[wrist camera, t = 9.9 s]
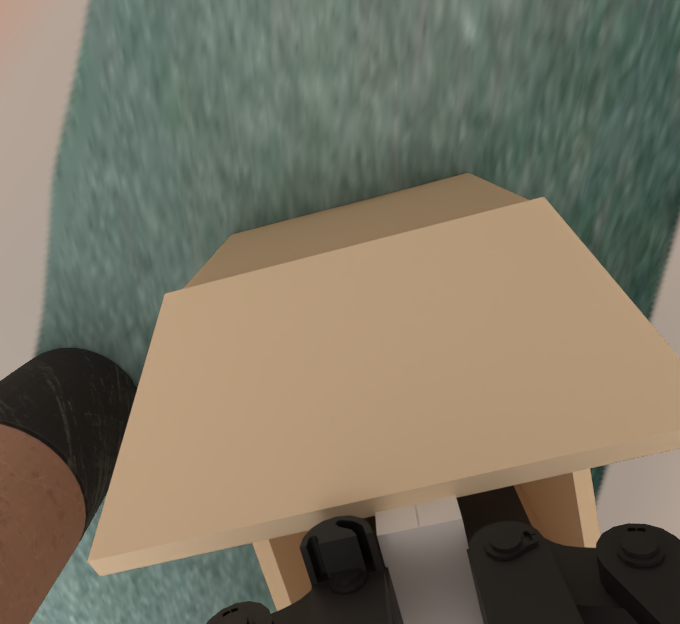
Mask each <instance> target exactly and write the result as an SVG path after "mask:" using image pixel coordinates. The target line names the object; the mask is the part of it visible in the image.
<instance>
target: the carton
mask: <svg viewBox="0 0 680 624" xmlns="http://www.w3.org/2000/svg"><path fill="white" fill-rule="evenodd" d="M525 201H529V200H528V199H526V198H524V197H521V196H519V195H517V194H515V193H512V192H510V191H508V190H506V189H504V188H501V187H499V186H497V185H495V184H493V183H490V182H488V181H486V180H484V179H482V178H479V177H477V176H475V175H473V174H470V173H465V174H461V175H458V176H454V177H450V178H446V179H442V180H438V181H435V182H431V183H427V184H423V185H419V186H415V187H412V188H408V189H404V190H400V191H396V192H393V193H389V194H385V195H381V196H377V197H373V198H370V199H366V200H362V201H358V202H354V203H350V204H347V205H343V206H339V207H335V208H331V209H327V210H324V211H320V212H316V213H312V214H308V215H305V216H301V217H297V218H293V219H289V220H285V221H282V222H278V223H274V224H270V225H266V226H262V227H259V228H255V229H251V230H247V231H243V232H240V233H236V234H232V235H230V237H229V238H228V239H227V240H226V241H225V242H224V243H223V244H222V246H221V247H220V248H219V249H218V250H217V251H216V252H215V253H214V254H213V256H212V257H211V258H210V259H209V260H208V261H207V262H206V263H205V264H204V266H203V267H202V268H201V269H200V270H199V271H198V272H197V273H196V275H195V276H194V277H193V278H192V279H191V280H190V281H189V282H188V283H187V285H186V286H185V287H184V288H183V289H185V288H189V287H193V286H197V285H201V284H205V283H209V282H213V281H217V280H220V279H224V278H228V277H232V276H236V275H240V274H244V273H248V272H252V271H256V270H260V269H263V268H267V267H271V266H275V265H279V264H283V263H287V262H291V261H295V260H299V259H303V258H306V257H310V256H314V255H318V254H322V253H326V252H330V251H334V250H338V249H342V248H346V247H349V246H353V245H357V244H361V243H365V242H369V241H373V240H377V239H381V238H385V237H388V236H392V235H396V234H400V233H404V232H408V231H412V230H416V229H420V228H424V227H428V226H431V225H435V224H439V223H443V222H447V221H451V220H455V219H459V218H463V217H467V216H471V215H474V214H478V213H482V212H486V211H490V210H494V209H498V208H502V207H506V206H510V205H514V204H517V203H521V202H525ZM514 487H515V490H516V492H517V494H518V496H519V499H520V501H521V503H522V505H523V507H524V510H525V512H526V514H527V516H528V518H529V521H530V523H531V525H532V526H533V527H534V528H535V529H537V530H538V531H539V532H540V533H541V535H542V536H543V537H544V538H546V539H548V540H550V541H552V542H554V543H558V544H561V545H565V546H573V547H589V548H596V543H597V541H598V539H599V538H600V530H599V524H598V517H597V511H596V504H595V497H594V491H593V484H592V478H591V471H590V468H589V469H585V470H580V471H576V472H571V473H567V474H562V475H558V476H553V477H549V478H544V479H539V480H535V481H530V482H526V483H521V484H517V485H514ZM308 532H309V530H308V531H304V532H299V533H294V534H290V535H285V536H281V537H276V538H272V539H267V540H263V541H258V542H254V543H252V544H253V547H254V549H255V552H256V555H257V558H258V560H259V563H260V566H261V569H262V571H263V574H264V577H265V579H266V582H267V585H268V588H269V590H270V593H271V596H272V599H273V601H274V604H275V607H276V610H277V611H279V610H281V609H283V608H285V607H287V606H289V605H291V604H293V603H295V602H297V601H298V600H300V599H301V598H302V597H304V596H305V595H306V594H307V593H309V592H310V590H311V582H310V579H309V576H308V573H307V570H306V567H305V563H304V560H303V557H302V554H301V551H300V548H299V547H300V545H301V542H302V539H303V537H304V536H305V535H306V534H307V533H308Z"/></svg>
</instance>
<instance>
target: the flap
mask: <svg viewBox="0 0 680 624" xmlns="http://www.w3.org/2000/svg"><path fill="white" fill-rule="evenodd" d="M675 449H680V358H679V357H678V355H677V354H676V353H675V352H674V351H673V349H672V348H671V347H670V346H669V345H668V344H667V342H666V341H665V340H664V339H663V338H662V336H661V335H660V334H659V333H658V332H657V330H656V329H655V328H654V327H653V326H652V324H651V323H650V322H649V321H648V320H647V319H646V317H645V316H644V315H643V314H642V313H641V311H640V310H639V309H638V308H637V307H636V305H635V304H634V303H633V302H632V301H631V299H630V298H629V297H628V296H627V295H626V294H625V292H624V291H623V290H622V289H621V288H620V286H619V285H618V284H617V283H616V282H615V280H614V279H613V278H612V277H611V276H610V275H609V273H608V272H607V271H606V270H605V269H604V267H603V266H602V265H601V264H600V263H599V261H598V260H597V259H596V258H595V257H594V256H593V254H592V253H591V252H590V251H589V250H588V248H587V247H586V246H585V245H584V244H583V242H582V241H581V240H580V239H579V238H578V237H577V235H576V234H575V233H574V232H573V231H572V229H571V228H570V227H569V226H568V225H567V223H566V222H565V221H564V220H563V219H562V218H561V216H560V215H559V214H558V213H557V212H556V210H555V209H554V208H553V207H552V206H551V204H550V203H549V202H548V201H547V200H546V199H545V197H541V198H537V199H533V200H529V201H525V202H521V203H517V204H514V205H510V206H506V207H502V208H498V209H494V210H490V211H486V212H482V213H478V214H474V215H471V216H467V217H463V218H459V219H455V220H451V221H447V222H443V223H439V224H435V225H431V226H428V227H424V228H420V229H416V230H412V231H408V232H404V233H400V234H396V235H392V236H388V237H385V238H381V239H377V240H373V241H369V242H365V243H361V244H357V245H353V246H349V247H346V248H342V249H338V250H334V251H330V252H326V253H322V254H318V255H314V256H310V257H306V258H303V259H299V260H295V261H291V262H287V263H283V264H279V265H275V266H271V267H267V268H263V269H260V270H256V271H252V272H248V273H244V274H240V275H236V276H232V277H228V278H224V279H220V280H217V281H213V282H209V283H205V284H201V285H197V286H193V287H189V288H185V289H181V290H177V291H174V292H170V293H166V294H165V295H164V299H163V302H162V305H161V309H160V312H159V316H158V319H157V323H156V326H155V330H154V333H153V337H152V340H151V344H150V347H149V350H148V354H147V357H146V361H145V364H144V368H143V371H142V375H141V378H140V382H139V385H138V388H137V392H136V395H135V399H134V402H133V406H132V409H131V413H130V416H129V420H128V423H127V427H126V430H125V433H124V437H123V440H122V444H121V447H120V451H119V454H118V458H117V461H116V465H115V468H114V471H113V475H112V478H111V482H110V485H109V489H108V492H107V496H106V499H105V503H104V506H103V510H102V513H101V516H100V520H99V523H98V527H97V530H96V534H95V537H94V541H93V544H92V548H91V551H90V555H89V558H88V561H87V562H88V563H89V564H90V565H91V566H92V568H93V569H94V570H95V571H96V572H97V573H98V575H99V576H104V575H108V574H113V573H118V572H122V571H127V570H131V569H136V568H140V567H145V566H149V565H154V564H158V563H163V562H167V561H172V560H177V559H181V558H186V557H190V556H195V555H199V554H204V553H208V552H213V551H217V550H222V549H226V548H231V547H236V546H240V545H245V544H249V543H254V542H258V541H263V540H267V539H272V538H276V537H281V536H285V535H290V534H294V533H299V532H304V531H308V530H310V529H311V528H313V527H314V526H316V525H317V524H319V523H321V522H322V521H324V520H327V519H330V518H333V517H336V516H347V515H351V516H355V517H360V518H362V519H363V518H367V517H372V516H375V512H380V511H385V510H389V509H394V508H399V507H403V506H408V505H413V504H417V503H422V502H427V501H431V500H436V499H441V498H445V497H450V496H454V495H456V498H458V497H462V496H467V495H471V494H476V493H481V492H485V491H490V490H494V489H499V488H503V487H508V486H512V485H517V484H521V483H526V482H530V481H535V480H539V479H544V478H549V477H553V476H558V475H562V474H567V473H571V472H576V471H580V470H585V469H589V468H594V467H598V466H603V465H608V464H612V463H617V462H621V461H626V460H630V459H635V458H639V457H644V456H648V455H653V454H657V453H662V452H666V451H671V450H675Z"/></svg>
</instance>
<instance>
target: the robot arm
mask: <svg viewBox="0 0 680 624" xmlns="http://www.w3.org/2000/svg"><path fill="white" fill-rule="evenodd" d="M299 548H300V551H301V554H302V557H303V560H304V563H305V567H306V570H307V573H308V576H309V579H310V582H311V590H310V592H309V593H307V594H306V595H305V596H304V597H302V598H301V599H300V600H298V601H297V602H295V603H293V604H291V605H289V606H287V607H285V608H283V609H281V610H279V611H277V612H275V613H272V614H270V611H269V609H268V608H266V607H265V606H264V605H262V604H261V603H256V602H251V601H247V602H241V603H235V604H233V605H231V606H229V607H227V608H225V609H222V610H221V611H220V612H218V613H217V614H216V615H215V616H213V617H212V618H211V619H210V620H209V621H208V622H207V624H680V540H679V539H678V538H677V537H676V536H674V535H672V534H671V533H669V532H667V531H665V530H664V529H662V528H658V527H654V526H651V525H647V524H624V525H620V526H616V527H613V528H611V529H609V530H608V531H606V532H604V533H603V534H602V535H601V536H600V538H599V539H598V541H597V543H596V548H589V547H573V546H565V545H561V544H558V543H554V542H552V541H550V540H548V539H546V538H544V537H543V536H542V535H541V533H540V532H539V531H538V530H537V529H535V528H534V527H533V526H532V525H531V523H530V521H529V518H528V516H527V514H526V512H525V510H524V507H523V505H522V503H521V501H520V499H519V496H518V494H517V492H516V490H515V487H514V485H512V486H508V487H503V488H499V489H494V490H490V491H485V492H481V493H476V494H471V495H467V496H462V497H458V498H456V495H454V496H450V497H445V498H441V499H436V500H431V501H427V502H422V503H417V504H413V505H408V506H403V507H399V508H394V509H389V510H385V511H380V512H375V516H372V517H367V518H363V519H362V518H360V517H355V516H351V515H347V516H336V517H333V518H330V519H327V520H324V521H322V522H321V523H319V524H317V525H316V526H314V527H313V528H311V529H310V530H309V532H308V533H307V534H306V535H305V536H304V537H303V539H302V542H301V545H300V547H299Z"/></svg>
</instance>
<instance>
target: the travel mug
mask: <svg viewBox="0 0 680 624" xmlns="http://www.w3.org/2000/svg"><path fill="white" fill-rule="evenodd" d="M136 392H137V390H136V388H135V386H134V384H133V383H132V381H131V380H130V378H129V377H128V376H127V375H126V373H125V372H124V371H123V370H122V369H121V368H120V367H118V366H117V365H116V364H114V363H113V362H112V361H110V360H108V359H107V358H105V357H103V356H101V355H98V354H96V353H93V352H90V351H86V350H81V349H72V348H69V349H58V350H52V351H49V352H46V353H43V354H41V355H39V356H37V357H35V358H33V359H32V360H30V361H29V362H27V363H25V364H24V365H23V366H21V367H20V368H18V369H17V370H15V371H14V372H12V373H11V374H10V375H8V376H7V377H5V378H4V379H3V380H1V381H0V624H29V623H30V621H31V619H32V618H33V616H34V615H35V613H36V611H37V610H38V608H39V607H40V605H41V603H42V602H43V600H44V599H45V597H46V595H47V594H48V592H49V591H50V589H51V587H52V586H53V584H54V583H55V581H56V579H57V578H58V576H59V575H60V573H61V571H62V570H63V568H64V567H65V565H66V563H67V562H68V560H69V559H70V557H71V555H72V554H73V552H74V551H75V549H76V547H77V546H78V543H79V542H80V540H81V539H82V537H83V535H84V533H85V531H86V530H87V528H88V526H89V524H90V522H91V521H92V519H93V517H94V515H95V513H96V512H97V510H98V508H99V506H100V504H101V503H102V501H103V499H104V497H105V495H106V493H107V492H108V489H109V485H110V482H111V478H112V475H113V471H114V468H115V465H116V461H117V458H118V454H119V451H120V447H121V444H122V440H123V437H124V433H125V430H126V427H127V423H128V420H129V416H130V413H131V409H132V406H133V402H134V399H135V395H136Z"/></svg>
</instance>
